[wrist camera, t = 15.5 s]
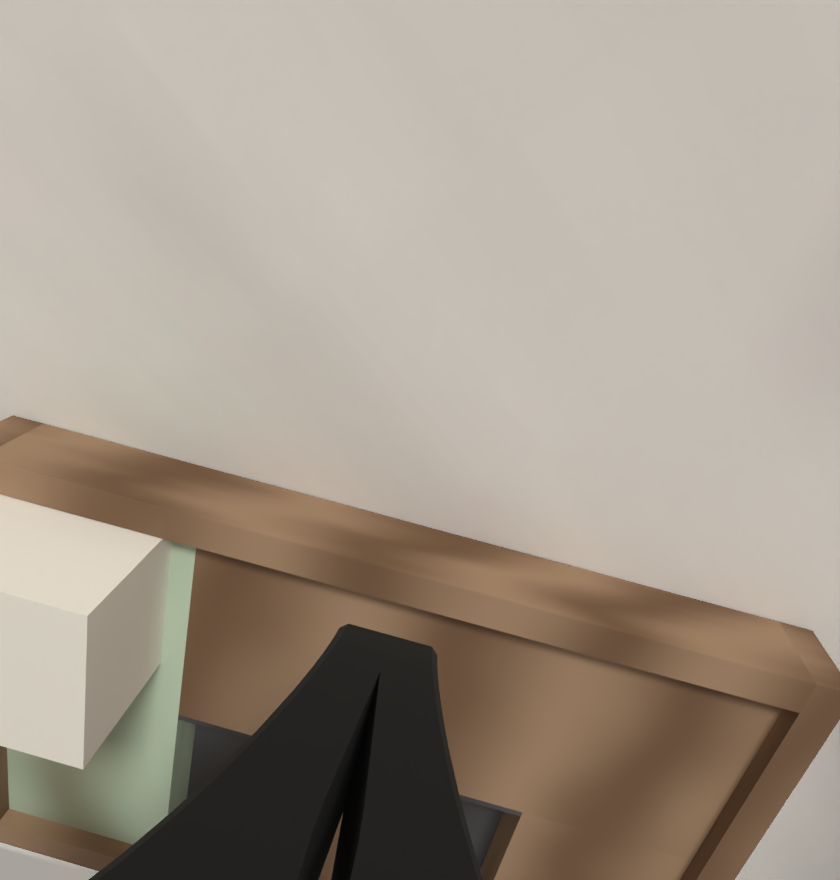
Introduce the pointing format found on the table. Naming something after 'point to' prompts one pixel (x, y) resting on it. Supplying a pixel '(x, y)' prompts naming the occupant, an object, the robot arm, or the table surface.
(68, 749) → the cream block
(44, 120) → the table surface
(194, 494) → the tray
